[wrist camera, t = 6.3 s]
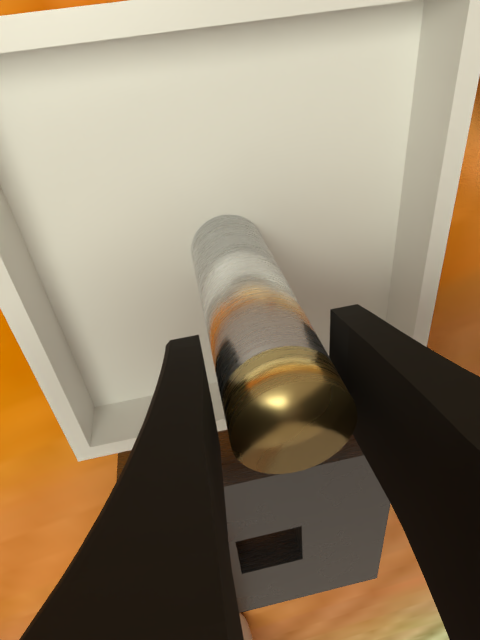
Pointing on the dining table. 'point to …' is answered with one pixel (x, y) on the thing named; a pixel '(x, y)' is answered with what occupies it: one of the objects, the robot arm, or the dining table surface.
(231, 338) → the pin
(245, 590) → the block
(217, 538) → the robot arm
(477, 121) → the dining table surface
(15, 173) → the tray
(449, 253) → the dining table surface
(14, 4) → the dining table surface
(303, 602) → the dining table surface
